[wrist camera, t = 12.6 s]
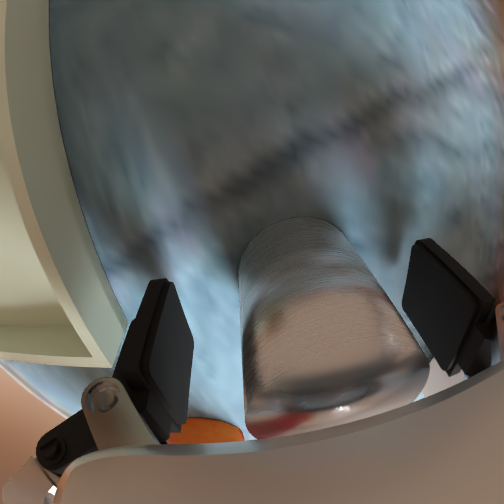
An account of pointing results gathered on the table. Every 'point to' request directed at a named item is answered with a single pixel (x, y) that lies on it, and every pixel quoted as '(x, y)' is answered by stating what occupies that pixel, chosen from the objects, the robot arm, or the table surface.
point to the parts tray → (44, 216)
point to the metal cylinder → (319, 334)
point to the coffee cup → (206, 432)
